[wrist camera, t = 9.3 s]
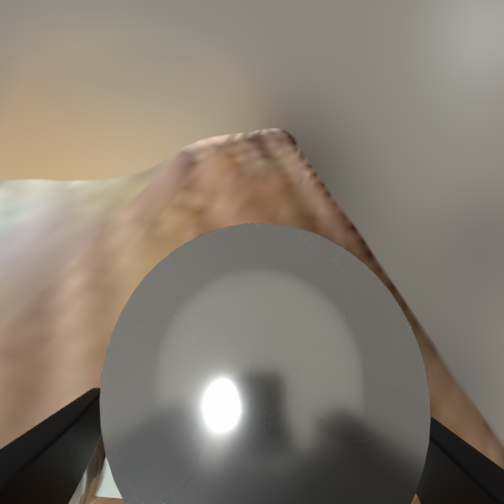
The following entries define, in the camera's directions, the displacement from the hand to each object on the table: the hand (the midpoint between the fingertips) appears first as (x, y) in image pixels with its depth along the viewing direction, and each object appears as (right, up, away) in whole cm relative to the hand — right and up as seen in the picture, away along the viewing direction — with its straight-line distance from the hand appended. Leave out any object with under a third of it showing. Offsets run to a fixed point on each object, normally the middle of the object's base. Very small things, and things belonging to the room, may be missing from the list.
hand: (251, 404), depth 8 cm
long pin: (0, -4, +9) cm, 10 cm away
